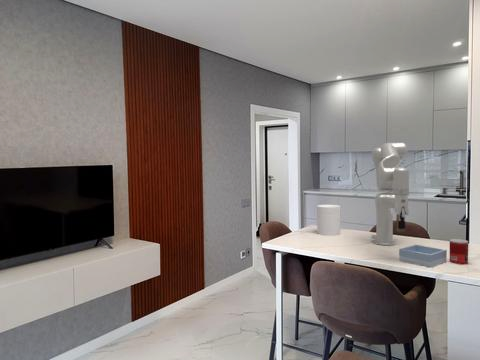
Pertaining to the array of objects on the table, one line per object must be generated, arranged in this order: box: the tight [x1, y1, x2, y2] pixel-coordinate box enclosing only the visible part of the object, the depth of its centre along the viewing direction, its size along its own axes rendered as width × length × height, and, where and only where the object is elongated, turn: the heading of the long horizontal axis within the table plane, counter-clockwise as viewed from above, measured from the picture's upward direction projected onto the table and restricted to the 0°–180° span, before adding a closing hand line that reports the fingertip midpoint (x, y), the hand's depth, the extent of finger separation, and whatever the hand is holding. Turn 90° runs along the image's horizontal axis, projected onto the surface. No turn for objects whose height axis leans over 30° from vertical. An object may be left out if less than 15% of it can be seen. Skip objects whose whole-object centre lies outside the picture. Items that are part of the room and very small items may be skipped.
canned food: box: [449, 238, 469, 265], centre depth 180 cm, size 8×8×11 cm
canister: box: [316, 204, 341, 237], centre depth 257 cm, size 16×16×20 cm
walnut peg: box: [396, 214, 405, 233], centre depth 184 cm, size 4×4×10 cm
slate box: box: [398, 244, 448, 268], centre depth 183 cm, size 16×16×6 cm
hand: (400, 227), depth 184 cm, fingers closed on walnut peg, 3 cm apart
